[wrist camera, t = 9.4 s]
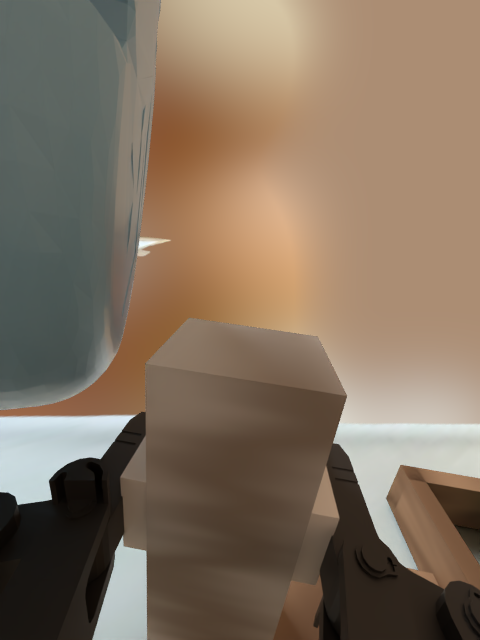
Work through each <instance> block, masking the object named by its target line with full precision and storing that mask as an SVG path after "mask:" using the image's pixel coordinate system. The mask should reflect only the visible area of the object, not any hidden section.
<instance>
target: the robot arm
mask: <svg viewBox="0 0 480 640" xmlns="http://www.w3.org/2000/svg"><path fill="white" fill-rule="evenodd" d="M160 3H161V0H0V410H6V409H15V408H25V407H34V406H41V405H47V404H51V403H55V402H59V401H62V400H65V399H68V398H70V397H72V396H74V395H76V394H78V393H80V392H81V391H83V390H84V389H86V388H87V387H89V386H90V385H91V384H93V383H94V382H95V381H96V380H97V379H98V378H99V377H100V376H101V375H102V374H103V373H104V372H105V371H106V369H107V368H108V366H109V365H110V363H111V362H112V360H113V358H114V357H115V355H116V353H117V351H118V348H119V346H120V343H121V340H122V336H123V332H124V327H125V323H126V318H127V313H128V309H129V304H130V298H131V292H132V286H133V280H134V273H135V266H136V260H137V253H138V245H139V238H140V230H141V222H142V212H143V204H144V196H145V187H146V177H147V168H148V159H149V149H150V148H149V147H150V137H151V126H152V115H153V105H154V91H155V75H156V67H155V66H156V51H157V28H158V19H159V14H160ZM353 471H354V470H353V467H352V465H351V462H350V459H349V457H348V455H347V454H346V453H345V452H344V450H343V449H342V448H341V446H340V445H339V444H332V447H331V451H330V454H329V457H328V460H327V464H326V467H325V470H324V474H323V477H322V480H321V483H320V487H319V490H318V493H317V497H316V500H315V503H314V507H313V510H312V513H311V516H310V520H309V523H308V526H307V530H306V533H305V536H304V540H303V543H302V546H301V549H300V553H299V556H298V559H297V563H296V566H295V569H294V572H293V576H292V579H291V580H292V581H296V582H301V583H306V584H311V585H316V583H317V580H318V577H319V575H320V578H321V584H322V591H323V596H322V599H321V601H320V604H319V607H318V609H317V612H316V614H315V619H314V624H313V626H314V627H316V628H318V626H319V640H480V590H479V589H478V588H476V587H475V586H473V585H471V584H468V583H465V582H462V581H451V582H449V584H448V585H447V586H446V588H445V589H443V588H441V587H440V586H438V585H436V584H434V583H432V582H430V581H428V580H427V579H425V578H423V577H421V576H419V575H417V574H415V573H414V572H412V571H410V570H409V569H407V568H406V567H404V566H403V565H402V564H400V563H399V562H398V560H397V558H396V557H395V556H394V554H393V553H392V551H391V550H390V548H389V547H388V546H387V545H386V544H384V543H383V542H382V541H381V540H380V539H379V537H378V535H377V533H376V530H375V527H374V525H373V522H372V519H371V516H370V514H369V511H368V508H367V506H366V503H365V500H364V497H363V495H362V492H361V489H360V486H359V485H358V481H357V478H356V476H355V473H354V472H353ZM49 484H50V490H51V495H52V500H48V501H43V502H35V503H28V504H21V505H17V502H16V498H15V496H13V495H11V494H10V493H3V492H0V640H92V638H93V635H94V631H95V628H96V625H97V621H98V618H99V614H100V611H101V608H102V604H103V601H104V597H105V594H106V591H107V587H108V584H109V581H110V577H111V574H112V570H113V567H114V559H115V550H116V548H117V546H118V544H119V542H120V540H121V538H122V536H123V541H124V546H126V547H130V548H135V549H140V550H145V551H147V534H146V412H141V413H139V414H138V415H136V416H135V417H133V418H132V419H131V420H130V421H129V422H128V423H127V425H126V426H125V427H124V429H123V430H122V433H120V434H119V435H118V437H117V438H116V439H115V442H113V443H112V445H111V446H110V447H109V449H108V450H107V451H106V453H105V454H104V455H103V457H102V458H101V459H96V458H84V459H79V460H76V461H74V462H71V463H69V464H67V465H65V466H64V467H63V468H61V469H60V470H58V471H57V472H56V473H55V474H54V475H53V477H52V478H51V479H50V480H49Z"/></svg>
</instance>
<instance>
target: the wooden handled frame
mask: <svg viewBox="0 0 480 640" xmlns="http://www.w3.org/2000/svg"><path fill="white" fill-rule="evenodd" d="M145 386H146V387H145V388H146V389H145V390H146V534H147V640H319V626H318V628H316V627H314V626H313V624H314V619H315V614H316V612H317V609H318V607H319V604H320V601H321V599H322V596H323V591H322V584H321V578H320V575H319V577H318V580H317V583H316V585H311V584H306V583H301V582H296V581H292V580H291V579H292V576H293V572H294V569H295V566H296V563H297V559H298V556H299V553H300V549H301V546H302V543H303V540H304V536H305V533H306V530H307V526H308V523H309V520H310V516H311V513H312V510H313V507H314V503H315V500H316V497H317V493H318V490H319V487H320V483H321V480H322V477H323V474H324V470H325V467H326V464H327V460H328V457H329V454H330V451H331V447H332V444H333V441H334V437H335V434H336V431H337V427H338V424H339V421H340V418H341V414H342V411H343V408H344V404H345V401H346V398H347V395H346V393H345V391H344V389H343V387H342V385H341V383H340V380H339V378H338V376H337V374H336V372H335V371H334V368H333V366H332V364H331V362H330V360H329V358H328V356H327V354H326V352H325V350H324V348H323V346H322V344H321V342H320V340H319V338H318V337H317V336H310V335H303V334H296V333H290V332H283V331H276V330H269V329H263V328H256V327H249V326H241V325H235V324H229V323H221V322H215V321H207V320H200V319H194V318H188V320H187V321H186V322H185V323H184V324H183V325H182V326H181V327H180V328H179V329H178V330H177V331H176V332H175V333H174V334H173V335H172V336H171V337H170V338H169V340H167V342H166V343H165V344H164V345H163V346H162V347H161V348H160V349H159V350H158V351H157V352H156V353H155V354H154V355H153V356H152V357H151V358H150V359H149V360H148V361H147V362H146V363H145ZM386 499H387V501H388V503H389V505H390V508H391V510H392V512H393V514H394V516H395V519H396V521H397V523H398V525H399V528H400V530H401V532H402V534H403V536H404V539H405V541H406V543H407V545H408V548H409V550H410V552H411V554H412V556H413V559H414V561H415V563H416V565H417V568H418V570H414V569H409V568H407V569H409V570H410V571H412V572H414V573H415V574H417V575H419V576H421V577H423V578H425V579H427V580H428V581H430V582H432V583H434V584H436V585H438V586H440V587H441V588H443V589H445V588H446V586H447V585H448V584H449V582H451V581H462V582H465V583H468V584H471V585H473V586H475V587H476V588H478V589H479V590H480V565H479V564H478V562H477V561H476V559H475V557H474V556H473V554H472V553H471V551H470V550H469V548H468V547H467V545H466V543H465V542H464V540H463V539H462V537H461V536H460V534H459V533H458V531H457V529H456V528H455V526H454V525H457V526H462V527H468V528H473V529H479V530H480V479H479V478H473V477H468V476H462V475H456V474H450V473H445V472H439V471H433V470H427V469H422V468H416V467H410V466H404V465H400V468H399V470H398V472H397V475H396V477H395V479H394V482H393V484H392V486H391V488H390V491H389V493H388V495H387V498H386Z"/></svg>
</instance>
